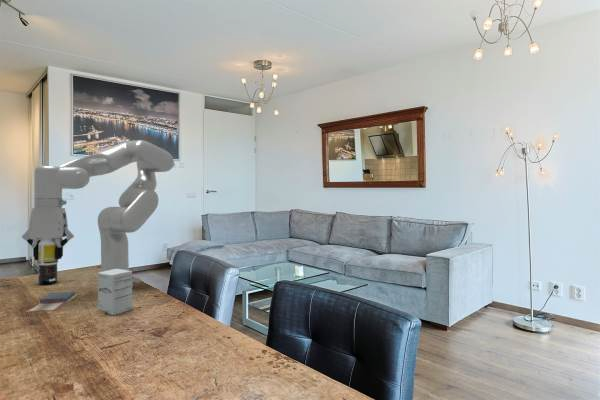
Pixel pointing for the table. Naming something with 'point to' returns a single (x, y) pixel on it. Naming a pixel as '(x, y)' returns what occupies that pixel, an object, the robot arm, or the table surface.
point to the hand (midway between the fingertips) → (48, 258)
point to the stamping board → (47, 306)
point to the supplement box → (115, 291)
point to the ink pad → (57, 297)
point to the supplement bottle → (47, 252)
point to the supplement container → (47, 274)
